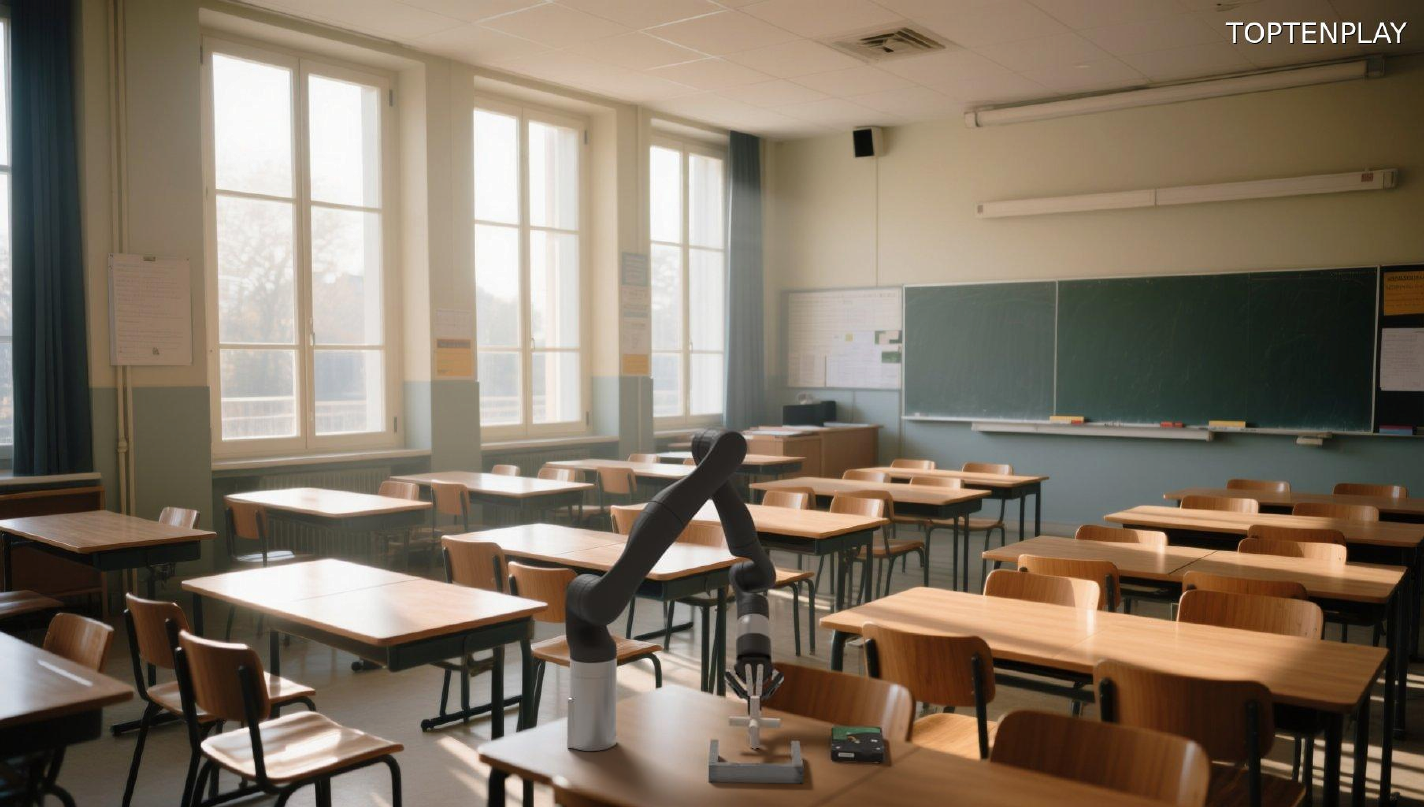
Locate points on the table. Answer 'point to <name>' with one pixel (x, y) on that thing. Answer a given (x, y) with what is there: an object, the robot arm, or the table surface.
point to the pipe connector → (754, 721)
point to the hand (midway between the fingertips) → (754, 716)
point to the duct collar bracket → (756, 769)
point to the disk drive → (857, 744)
